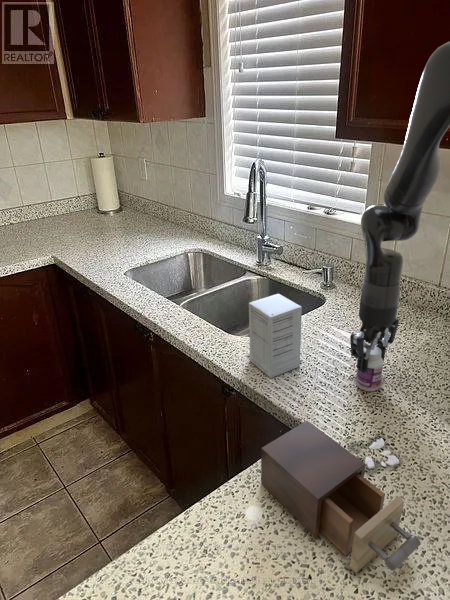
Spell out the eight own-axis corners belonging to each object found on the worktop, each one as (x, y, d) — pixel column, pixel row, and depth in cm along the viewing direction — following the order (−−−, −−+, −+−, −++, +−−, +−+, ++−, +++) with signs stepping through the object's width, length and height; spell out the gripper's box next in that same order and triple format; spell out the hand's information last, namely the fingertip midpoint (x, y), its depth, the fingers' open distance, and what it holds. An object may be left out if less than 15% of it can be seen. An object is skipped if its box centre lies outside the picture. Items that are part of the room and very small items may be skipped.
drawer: (422, 558, 65) (431, 522, 62) (381, 600, 61) (389, 563, 57) (338, 487, 77) (342, 454, 74) (298, 518, 72) (300, 483, 69)
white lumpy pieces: (380, 442, 88) (381, 434, 87) (403, 467, 82) (405, 460, 81) (347, 451, 86) (348, 444, 85) (368, 478, 80) (369, 471, 79)
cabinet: (359, 506, 75) (365, 463, 70) (314, 543, 69) (318, 499, 65) (304, 460, 84) (307, 420, 80) (260, 489, 79) (261, 447, 74)
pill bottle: (375, 395, 100) (381, 359, 96) (352, 387, 103) (356, 352, 98) (382, 382, 104) (387, 347, 100) (360, 375, 107) (364, 341, 102)
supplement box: (301, 366, 111) (303, 306, 103) (270, 379, 107) (271, 317, 99) (277, 349, 118) (278, 292, 111) (248, 360, 114) (247, 301, 107)
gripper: (372, 316, 87) (363, 386, 95) (415, 295, 94) (404, 361, 102) (342, 302, 93) (336, 369, 100) (385, 283, 100) (376, 347, 108)
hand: (370, 365), depth 101 cm, fingers closed on pill bottle, 5 cm apart
